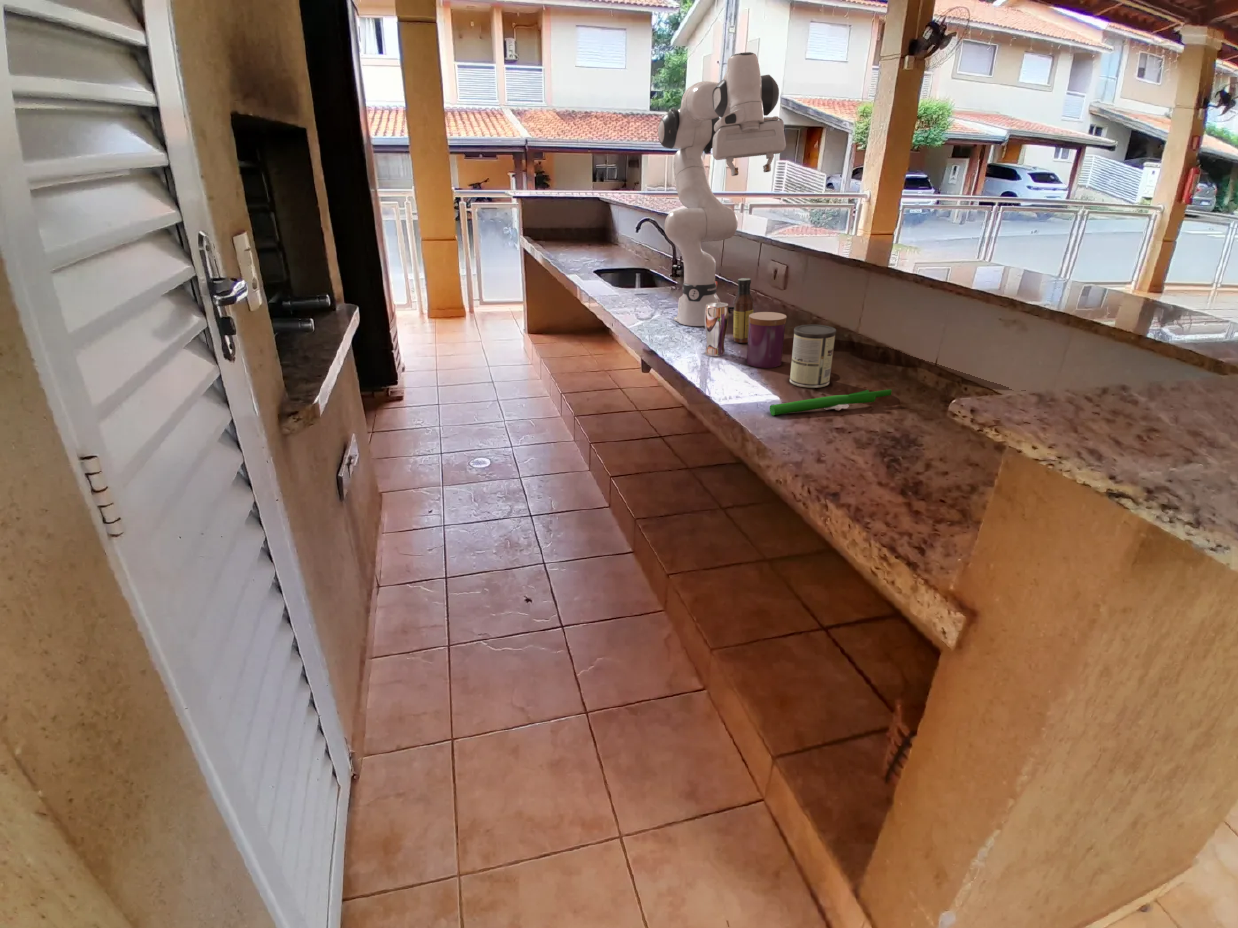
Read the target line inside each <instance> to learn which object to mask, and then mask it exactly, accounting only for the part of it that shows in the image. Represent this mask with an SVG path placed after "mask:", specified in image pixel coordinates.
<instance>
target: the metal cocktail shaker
mask: <svg viewBox="0 0 1238 928" xmlns="http://www.w3.org/2000/svg"><path fill="white" fill-rule="evenodd" d="M728 307H729V303H727V302H722V301H721V302H712V303H707V304H706V310H705V326H704V330H705V338H706V346H705V350H704V354H705V356H707V357H715V358H717V357H723V356H725V354H726V352H725V351H726V350H725V340H726V335H727V330H728V325H729V312H728Z"/></svg>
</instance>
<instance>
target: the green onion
mask: <svg viewBox="0 0 1238 928" xmlns="http://www.w3.org/2000/svg"><path fill="white" fill-rule="evenodd" d="M887 396H892V388H891V389H883V390H875V391H870V390H869V389H865V390H861V391H857V392H852V393H849V394H838V395H830V396H822V397H816V398H809V399H803V400H802V399H801V400H796V401H790V402H785V403H783V402H782V403H776V404H771V405H769V413H770V415H771V416H778V415H779V416H780V415H784V414H792V413H801V412H807V411H814V410H820V409H821V410H822V409H824V410H825V411H830V410H835V411H836V412H837V411H841V410H842V409H849V408H850V405H852V404H855V405H856V404H867V403H874V402H875V401H876V398H883V397H887Z"/></svg>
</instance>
